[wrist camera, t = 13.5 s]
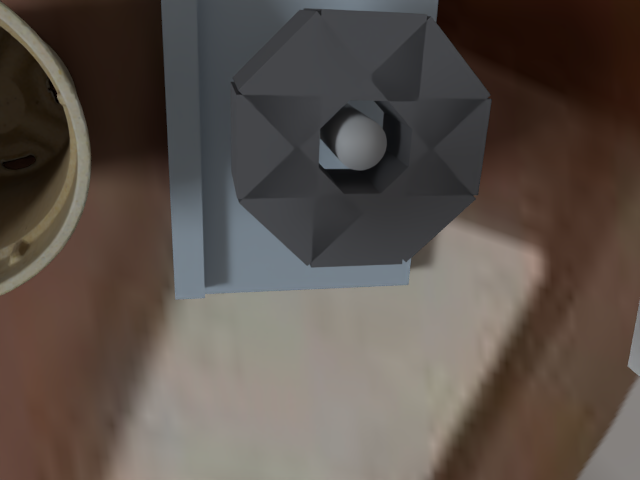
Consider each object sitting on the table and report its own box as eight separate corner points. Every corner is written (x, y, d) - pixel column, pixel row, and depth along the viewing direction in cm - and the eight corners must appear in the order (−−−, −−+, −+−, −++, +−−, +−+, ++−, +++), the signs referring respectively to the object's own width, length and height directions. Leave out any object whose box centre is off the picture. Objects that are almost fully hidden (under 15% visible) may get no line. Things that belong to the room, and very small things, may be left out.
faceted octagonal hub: (232, 235, 21) (237, 270, 19) (229, 4, 19) (236, 5, 16) (435, 230, 23) (468, 261, 20) (461, 15, 20) (503, 17, 17)
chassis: (-179, 294, 25) (-337, 418, 17) (-309, -164, 19) (-626, -268, 12) (398, 271, 29) (465, 360, 22) (435, -102, 24) (542, -147, 16)
